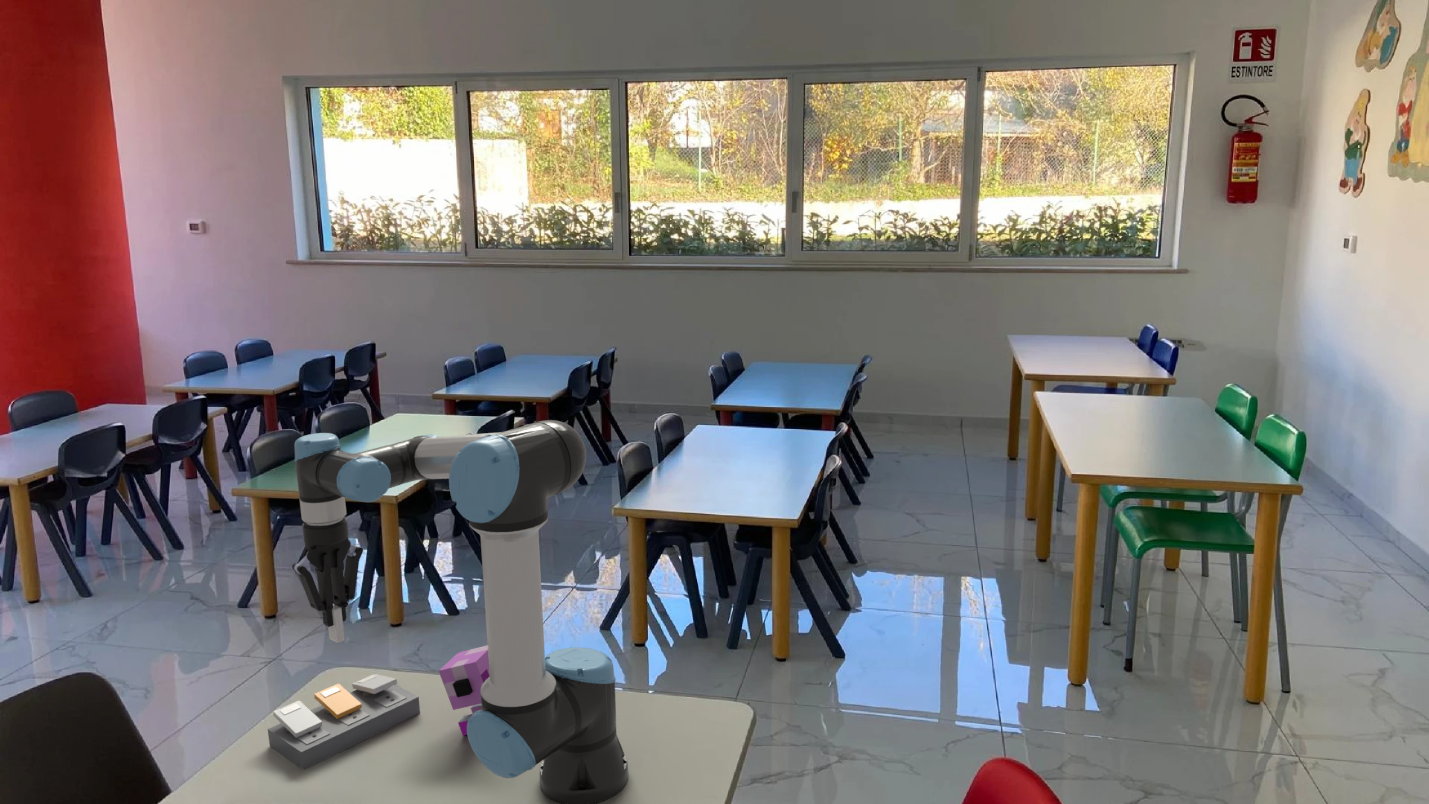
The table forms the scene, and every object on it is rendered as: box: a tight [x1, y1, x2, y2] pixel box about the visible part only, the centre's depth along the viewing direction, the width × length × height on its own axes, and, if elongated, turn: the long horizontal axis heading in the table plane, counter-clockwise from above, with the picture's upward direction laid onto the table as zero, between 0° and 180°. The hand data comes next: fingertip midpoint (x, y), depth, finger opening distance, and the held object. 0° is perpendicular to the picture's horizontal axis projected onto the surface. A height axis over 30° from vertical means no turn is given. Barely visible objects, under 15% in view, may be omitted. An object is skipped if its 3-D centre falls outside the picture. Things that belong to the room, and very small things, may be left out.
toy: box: [438, 644, 490, 736], centre depth 185 cm, size 11×8×15 cm
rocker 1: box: [273, 699, 322, 738], centre depth 180 cm, size 8×5×1 cm, turn 51°
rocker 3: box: [351, 673, 398, 694], centre depth 192 cm, size 8×5×1 cm, turn 50°
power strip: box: [267, 684, 421, 771], centre depth 185 cm, size 12×24×4 cm, turn 141°
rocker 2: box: [313, 683, 362, 719], centre depth 186 cm, size 8×5×1 cm, turn 51°
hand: (336, 639), depth 182 cm, fingers closed
